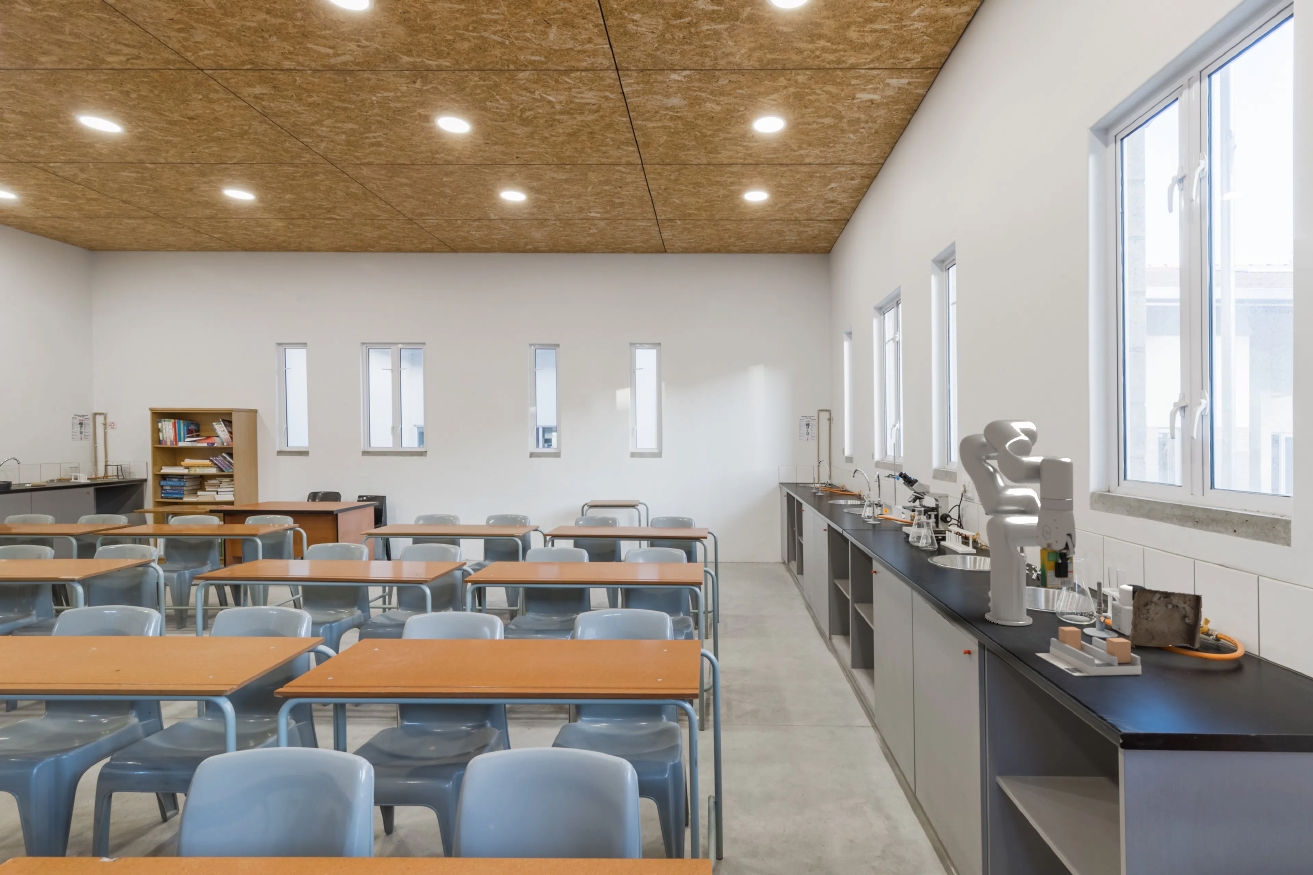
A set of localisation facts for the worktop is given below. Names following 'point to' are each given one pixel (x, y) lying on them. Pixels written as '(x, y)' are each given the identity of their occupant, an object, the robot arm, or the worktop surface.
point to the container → (1124, 608)
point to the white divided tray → (1089, 659)
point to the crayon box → (1049, 570)
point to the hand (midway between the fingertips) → (1056, 575)
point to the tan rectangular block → (1070, 636)
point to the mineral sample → (1165, 618)
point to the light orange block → (1119, 649)
